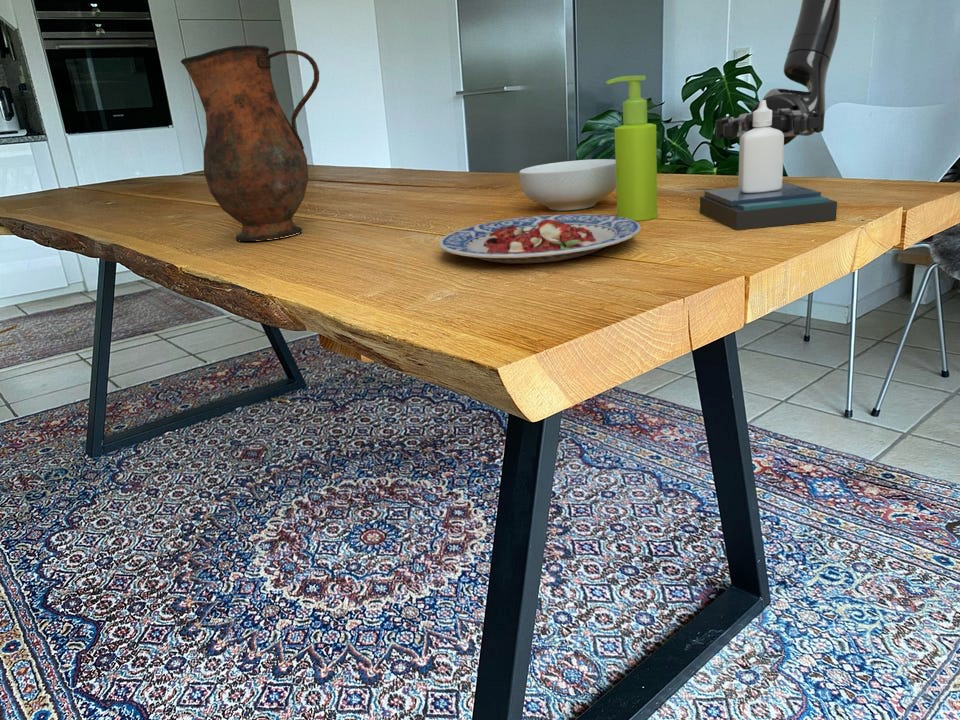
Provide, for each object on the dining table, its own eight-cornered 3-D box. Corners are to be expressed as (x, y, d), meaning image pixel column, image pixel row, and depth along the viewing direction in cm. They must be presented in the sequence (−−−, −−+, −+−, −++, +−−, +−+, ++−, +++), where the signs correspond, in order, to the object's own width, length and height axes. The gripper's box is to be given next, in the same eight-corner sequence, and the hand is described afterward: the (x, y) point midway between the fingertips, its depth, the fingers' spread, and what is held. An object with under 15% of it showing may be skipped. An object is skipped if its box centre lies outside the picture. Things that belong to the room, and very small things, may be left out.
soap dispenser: (616, 214, 115) (612, 77, 108) (661, 213, 111) (660, 72, 105) (605, 221, 110) (600, 78, 103) (651, 220, 107) (649, 73, 100)
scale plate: (785, 187, 108) (785, 182, 108) (820, 197, 97) (821, 191, 97) (704, 196, 108) (704, 190, 108) (730, 206, 98) (730, 200, 97)
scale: (786, 204, 109) (787, 184, 108) (836, 220, 95) (837, 197, 94) (699, 212, 109) (699, 193, 108) (736, 230, 95) (736, 207, 94)
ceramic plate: (424, 246, 105) (422, 225, 104) (593, 222, 110) (592, 202, 109) (466, 285, 81) (463, 259, 80) (678, 252, 86) (678, 227, 85)
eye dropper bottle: (741, 189, 106) (743, 100, 101) (783, 187, 103) (787, 97, 99) (736, 194, 102) (738, 102, 98) (779, 192, 99) (783, 99, 95)
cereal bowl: (610, 195, 134) (608, 155, 131) (632, 208, 118) (631, 163, 116) (517, 205, 133) (514, 165, 131) (527, 219, 118) (524, 174, 115)
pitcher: (231, 233, 134) (193, 56, 124) (348, 221, 135) (320, 44, 125) (206, 251, 118) (161, 50, 108) (339, 237, 119) (307, 36, 109)
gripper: (828, 142, 110) (818, 154, 97) (729, 147, 117) (708, 159, 104) (831, 89, 108) (822, 94, 95) (730, 97, 114) (708, 103, 101)
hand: (762, 128), depth 99 cm, fingers open, 8 cm apart
